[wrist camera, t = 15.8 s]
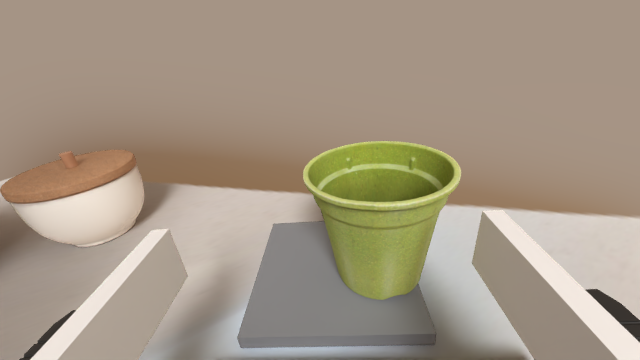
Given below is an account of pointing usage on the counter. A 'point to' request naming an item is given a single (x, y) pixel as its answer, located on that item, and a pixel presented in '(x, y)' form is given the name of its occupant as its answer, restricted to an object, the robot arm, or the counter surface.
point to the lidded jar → (79, 197)
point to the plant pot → (381, 210)
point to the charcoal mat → (323, 300)
